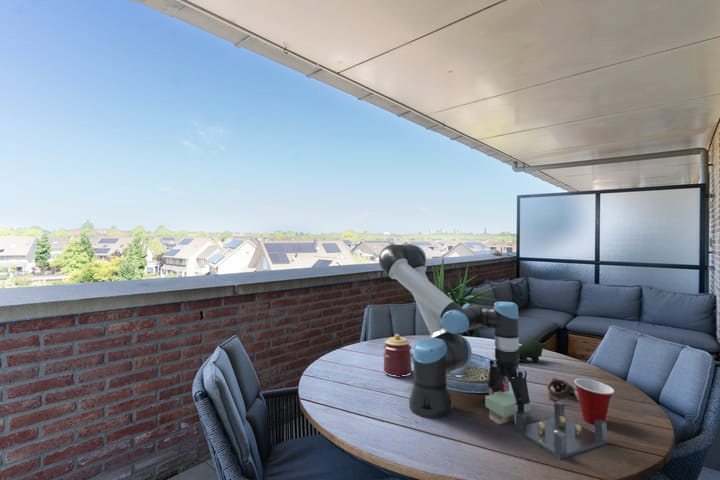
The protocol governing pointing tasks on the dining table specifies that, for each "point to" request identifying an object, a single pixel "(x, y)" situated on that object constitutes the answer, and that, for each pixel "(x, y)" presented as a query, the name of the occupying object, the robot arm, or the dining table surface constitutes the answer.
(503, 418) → the block
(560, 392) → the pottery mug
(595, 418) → the plastic cup
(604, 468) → the dining table surface
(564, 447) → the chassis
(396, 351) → the canister
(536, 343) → the toy figurine
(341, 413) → the dining table surface
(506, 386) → the soda can
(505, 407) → the mint green block
